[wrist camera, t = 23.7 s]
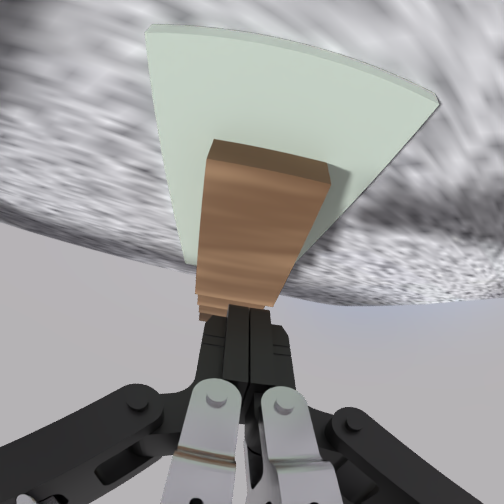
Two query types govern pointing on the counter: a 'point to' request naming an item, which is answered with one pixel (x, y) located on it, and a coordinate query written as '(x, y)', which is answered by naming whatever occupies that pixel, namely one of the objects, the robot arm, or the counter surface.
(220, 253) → the domino
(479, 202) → the counter surface
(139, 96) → the counter surface
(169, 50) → the mat
